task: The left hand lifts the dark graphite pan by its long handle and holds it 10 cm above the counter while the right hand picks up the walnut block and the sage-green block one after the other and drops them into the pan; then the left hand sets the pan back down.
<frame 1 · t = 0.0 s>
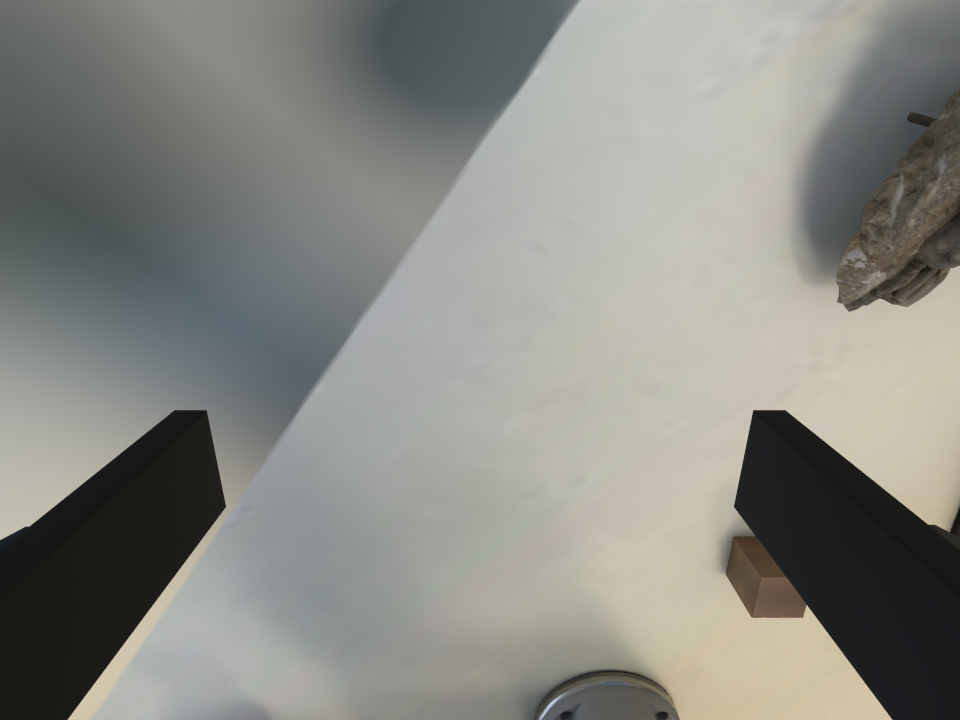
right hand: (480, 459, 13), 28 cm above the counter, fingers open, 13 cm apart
walnut block: (753, 556, 49), on the counter
fossil: (926, 164, 37), on the counter
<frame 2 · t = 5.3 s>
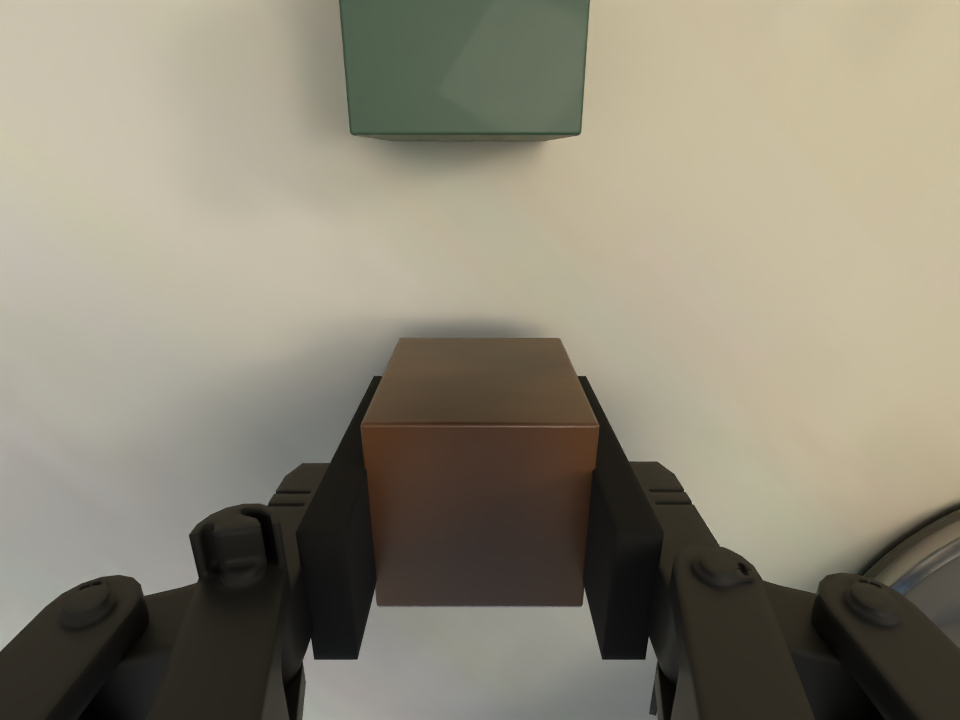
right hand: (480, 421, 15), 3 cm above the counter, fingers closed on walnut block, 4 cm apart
green block: (467, 50, 14), on the counter
walnut block: (479, 410, 15), point 2 cm above the counter, touching right hand
when the right hand's fingers open (16 cm above the counter, at t = 10.6 s): walnut block drops 6 cm, resting on pan.
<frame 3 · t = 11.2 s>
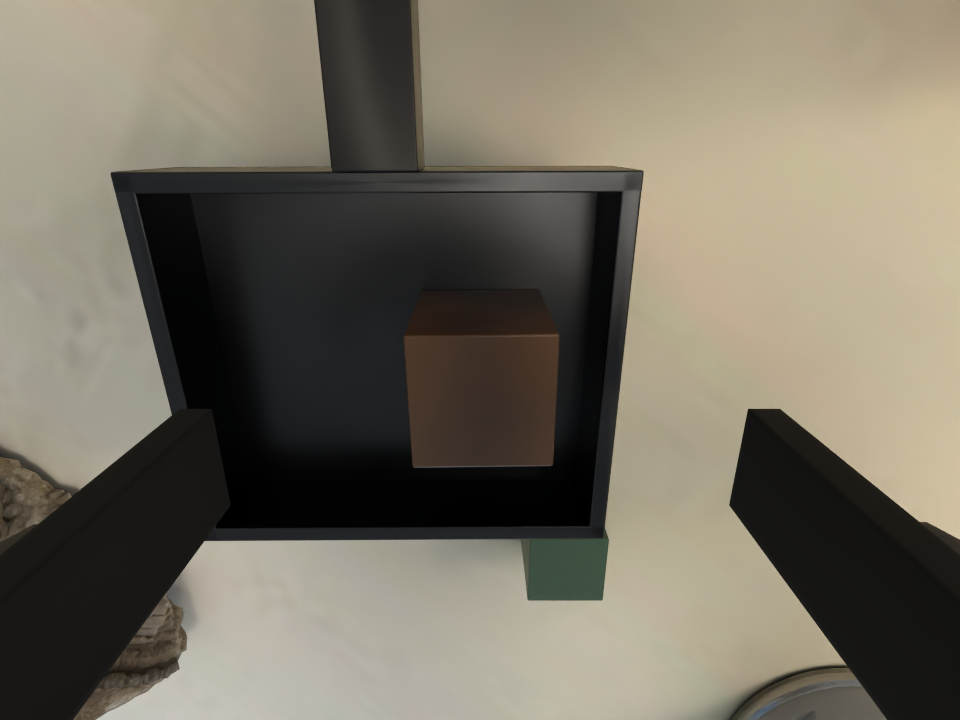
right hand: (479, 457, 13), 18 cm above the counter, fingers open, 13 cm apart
green block: (555, 516, 35), on the counter
walnut block: (480, 345, 20), point 10 cm above the counter, touching pan
fossil: (54, 552, 36), on the counter
pan: (406, 344, 21), point 9 cm above the counter, touching left hand, walnut block
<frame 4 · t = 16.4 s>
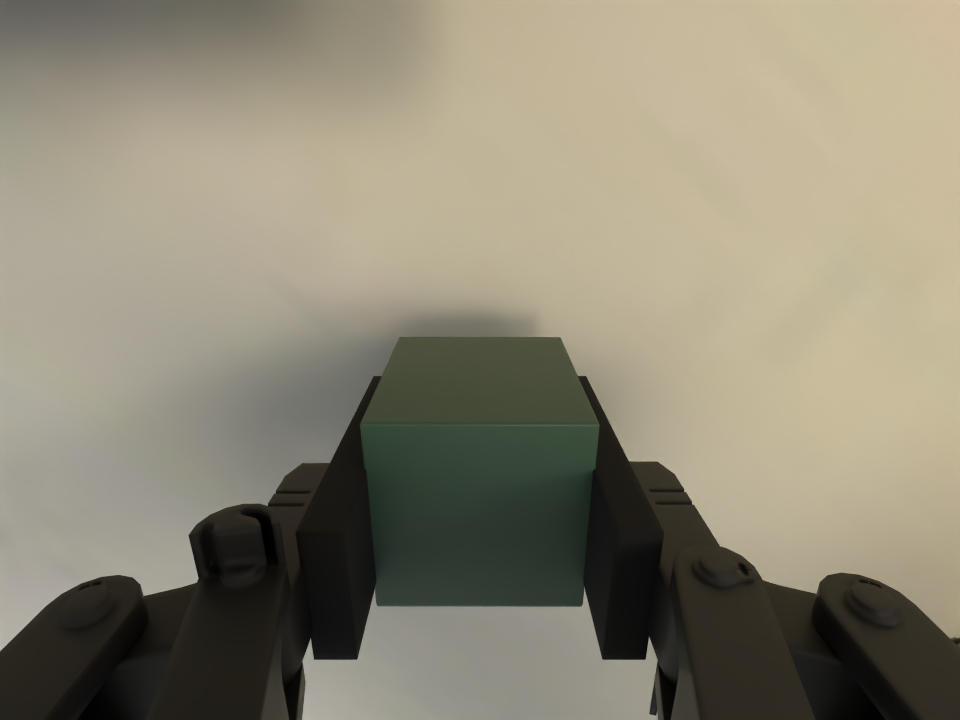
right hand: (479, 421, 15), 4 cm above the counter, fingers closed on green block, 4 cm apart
green block: (479, 409, 15), point 3 cm above the counter, touching right hand
when the right hand's fingers open (16 cm above the counter, at t = 19.7 s): green block drops 7 cm, resting on pan.
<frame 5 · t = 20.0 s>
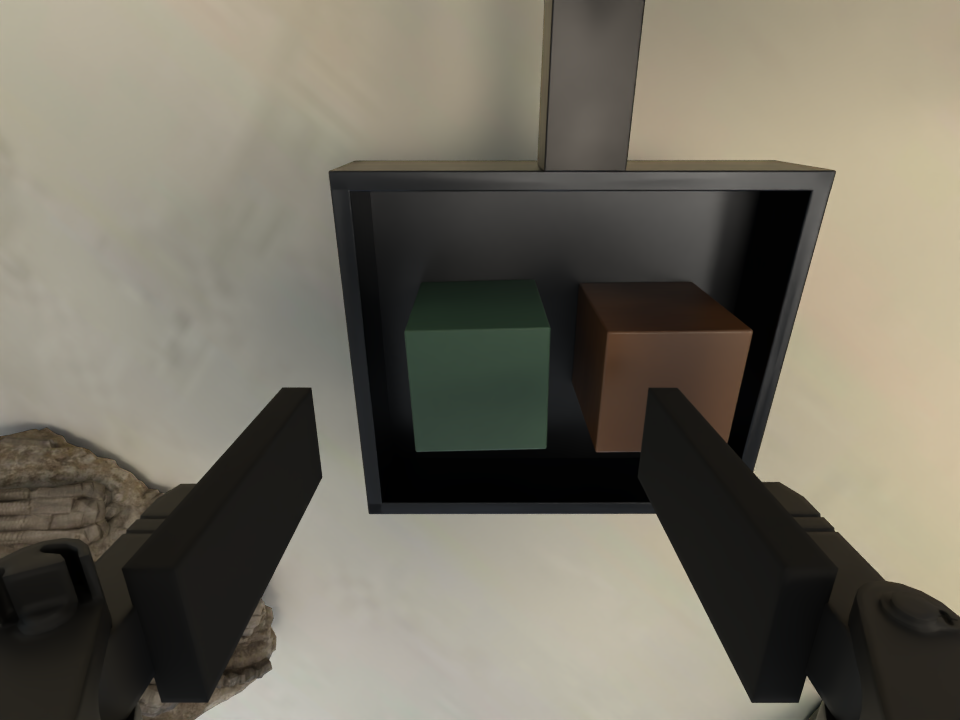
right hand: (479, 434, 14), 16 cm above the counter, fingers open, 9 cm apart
green block: (479, 333, 21), point 9 cm above the counter, tilted 5°, touching pan
walnut block: (629, 334, 21), point 9 cm above the counter, tilted 5°, touching pan
fossil: (142, 552, 36), on the counter
pan: (553, 330, 22), point 8 cm above the counter, tilted 5°, touching green block, left hand, walnut block
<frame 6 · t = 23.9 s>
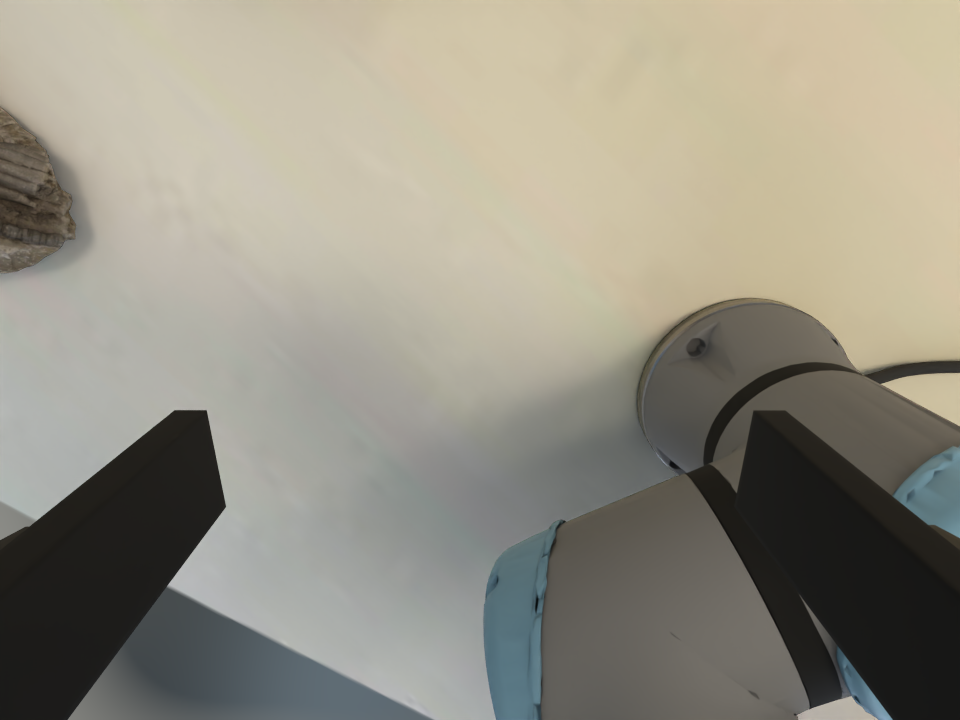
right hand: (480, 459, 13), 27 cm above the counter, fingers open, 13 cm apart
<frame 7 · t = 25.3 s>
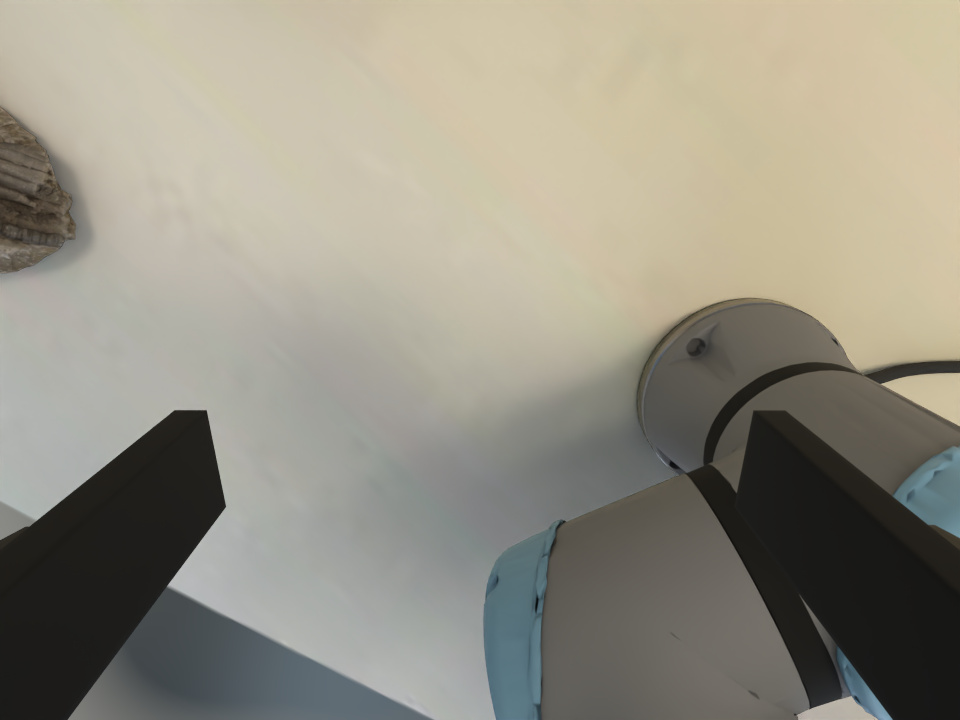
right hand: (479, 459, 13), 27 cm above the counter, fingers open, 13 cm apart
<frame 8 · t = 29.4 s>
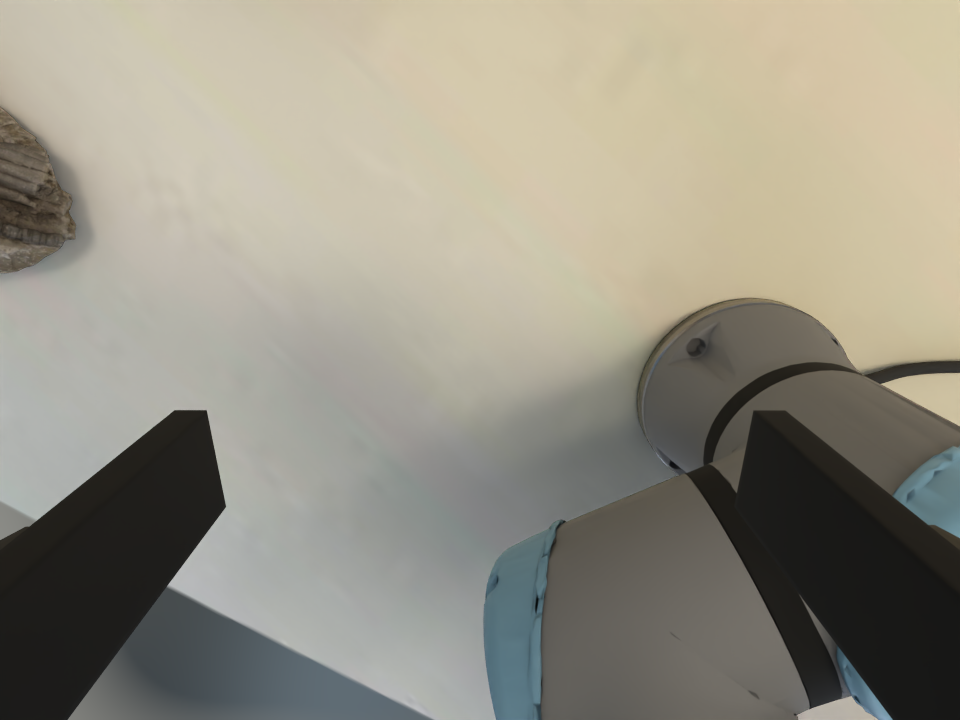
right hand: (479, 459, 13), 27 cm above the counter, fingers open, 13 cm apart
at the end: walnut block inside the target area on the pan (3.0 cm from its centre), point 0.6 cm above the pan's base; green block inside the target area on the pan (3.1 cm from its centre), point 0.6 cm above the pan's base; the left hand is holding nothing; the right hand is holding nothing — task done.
